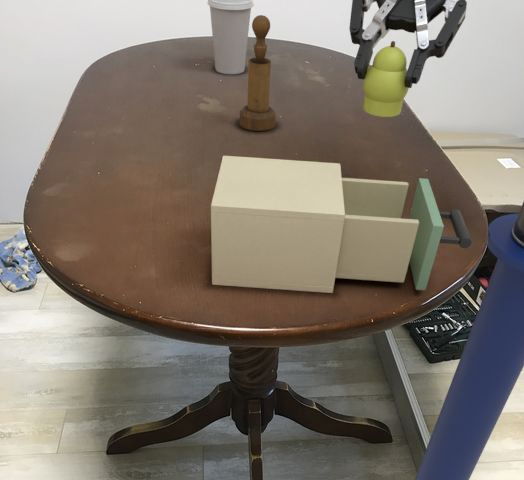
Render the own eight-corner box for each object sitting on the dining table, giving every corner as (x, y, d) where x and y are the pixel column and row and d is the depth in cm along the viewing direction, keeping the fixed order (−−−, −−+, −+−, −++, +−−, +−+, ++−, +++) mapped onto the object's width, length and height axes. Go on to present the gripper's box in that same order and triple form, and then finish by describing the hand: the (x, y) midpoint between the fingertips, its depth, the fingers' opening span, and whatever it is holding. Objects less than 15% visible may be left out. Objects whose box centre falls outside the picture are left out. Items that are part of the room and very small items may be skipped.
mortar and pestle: (265, 116, 112) (271, 9, 100) (281, 129, 108) (288, 19, 96) (233, 120, 110) (235, 12, 98) (248, 133, 106) (251, 22, 94)
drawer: (445, 241, 80) (464, 181, 74) (462, 293, 72) (484, 229, 66) (313, 232, 80) (320, 171, 74) (313, 282, 72) (322, 217, 66)
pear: (401, 103, 77) (414, 35, 71) (406, 119, 72) (420, 49, 67) (358, 100, 77) (368, 33, 71) (360, 117, 73) (371, 46, 67)
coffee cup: (212, 77, 127) (211, -2, 117) (205, 63, 134) (203, -13, 124) (255, 76, 129) (258, -2, 119) (246, 62, 136) (248, -13, 126)
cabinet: (329, 237, 81) (340, 163, 74) (332, 293, 72) (345, 214, 65) (223, 230, 82) (223, 155, 74) (212, 284, 72) (210, 205, 65)
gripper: (367, -85, 69) (322, 52, 69) (492, -72, 65) (445, 73, 65) (372, -38, 76) (331, 86, 76) (485, -25, 72) (442, 106, 72)
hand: (384, 79), depth 71 cm, fingers closed on pear, 5 cm apart
